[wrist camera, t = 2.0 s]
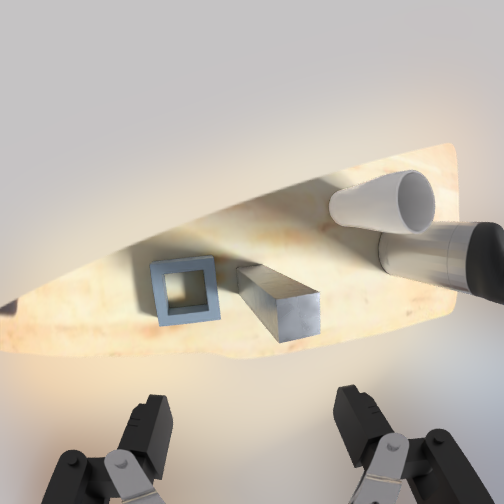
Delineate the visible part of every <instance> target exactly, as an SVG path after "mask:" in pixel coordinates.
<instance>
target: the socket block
mask: <svg viewBox="0 0 504 504" xmlns="http://www.w3.org/2000/svg"><path fill="white" fill-rule="evenodd" d="M196 270H203V272H204V281H205V289H206V297H207V304H204V305H196V306H187V307H178V308H169V304H168V297H167V291H166V284H165V276H164V274H169V273H178V272H187V271H196ZM150 271H151V279H152V285H153V292H154V298H155V304H156V310H157V316H158V321H159V326H170V325H179V324H188V323H197V322H205V321H212V320H220V319H221V316H220V308H219V300H218V291H217V282H216V273H215V263H214V257H213V256H212V255H207V256H198V257H189V258H180V259H171V260H162V261H153V262H152V263H151V264H150Z"/></svg>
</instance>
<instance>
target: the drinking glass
mask: <svg viewBox="0 0 504 504" xmlns="http://www.w3.org/2000/svg"><path fill="white" fill-rule="evenodd" d="M329 212H330V215H331V217H332V219H333V220H334V221H335V222H336V223H337V224H339V225H341V226H346V227H357V228H363V229H369V230H374V231H380V232H385V233H392V234H421V233H423V232H425V231H426V230H427V229H428V228H429V227H430V225H431V223H432V221H433V218H434V214H435V198H434V194H433V190H432V187H431V185H430V183H429V182H428V180H427V179H426V177H425V176H424V175H423V174H421V173H420V172H418V171H416V170H407V171H399V172H394V173H389V174H386V175H382V176H379V177H376V178H374V179H371V180H368V181H366V182H363V183H360V184H358V185H355V186H352V187H349V188H347V189H342V190H339V191H337V192H335V193H334V194H333V196H332V197H331V199H330V202H329Z"/></svg>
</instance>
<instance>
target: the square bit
mask: <svg viewBox="0 0 504 504" xmlns="http://www.w3.org/2000/svg"><path fill="white" fill-rule="evenodd" d="M237 279H238V289H239V295H240V296H241V297H242V299H243V300H244V301H245V302H246V304H247V305H248V306H249V307H250V309H251V310H252V311H253V312H254V314H255V315H256V316H257V317H258V318H259V320H260V321H261V322H262V323H263V325H264V326H265V327H266V328H267V329H268V331H269V332H270V333H271V334H272V335H273V337H274V338H275V339H276V340H277V341H278V343H282V342H287V341H292V340H296V339H301V338H305V337H310V336H314V335H318V334H320V292H318V291H316V290H314V289H312V288H310V287H308V286H306V285H304V284H301V283H299V282H297V281H295V280H293V279H291V278H289V277H287V276H285V275H283V274H281V273H279V272H277V271H275V270H273V269H270V268H268V267H266V266H264V265H257V266H248V267H240V268H237Z"/></svg>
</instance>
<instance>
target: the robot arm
mask: <svg viewBox="0 0 504 504" xmlns="http://www.w3.org/2000/svg"><path fill="white" fill-rule="evenodd" d="M379 259H380V263H381V265H382V267H383V268H384V270H385V271H386V272H387V273H389V274H391V275H393V276H398V277H402V278H406V279H409V280H414V281H418V282H422V283H426V284H430V285H434V286H438V287H442V288H446V289H450V290H454V291H458V292H463V293H467V294H471V295H474V296H478V297H482V298H485V299H487V300H489V301H492V302H495V303H499V304H503V305H504V230H503V228H502V227H501V226H500V225H498V224H496V223H490V222H449V221H432V223H431V225H430V227H429V228H428V229H427V230H426V231H425V232H423V233H421V234H392V233H385V232H383V233H382V235H381V238H380V242H379ZM333 415H334V420H335V422H336V425H337V427H338V429H339V432H340V434H341V437H342V439H343V441H344V444H345V446H346V448H347V451H348V453H349V456H350V458H351V460H352V463H353V465H354V467H355V468H357V467H361V466H363V468H364V472H363V474H362V477H361V479H360V481H359V483H358V485H357V487H356V489H355V491H354V493H353V496H352V498H351V499H350V501H349V503H348V504H395V503H396V500H397V497H398V494H399V492H400V488H401V485H402V482H401V481H400V479H407V481H408V484H409V486H410V488H411V491H412V493H413V495H414V497H415V499H416V502H417V504H495V503H494V501H493V500H492V498H491V496H490V494H489V493H488V491H487V489H486V488H485V486H484V485H483V483H482V481H481V480H480V478H479V477H478V475H477V473H476V472H475V470H474V469H473V467H472V466H471V464H470V462H469V461H468V459H467V458H466V456H465V455H464V453H463V452H462V450H461V449H460V448H459V446H458V444H457V443H456V442H455V440H454V439H453V437H452V436H451V434H450V433H449V432H448V431H446V430H444V429H434V430H431V431H430V432H429V433H428V434H427V435H426V437H425V438H417V439H407V438H406V437H405V436H404V435H402V434H399V433H395V432H394V431H393V430H392V428H391V426H390V425H389V423H388V421H387V420H386V418H385V417H384V415H383V414H382V412H381V410H380V409H379V407H378V406H377V404H376V402H375V401H374V399H373V398H372V397H371V396H369V395H368V394H367V393H365V392H364V393H359V391H358V389H357V388H356V386H355V385H348V386H343V387H339V388H338V390H337V395H336V399H335V404H334V408H333ZM172 429H173V418H172V414H171V411H170V407H169V404H168V401H167V397H166V396H165V395H151V394H150V395H149V397H148V399H147V402H146V404H139V405H138V406H137V407H136V408H134V409H133V411H132V413H131V416H130V419H129V421H128V423H127V426H126V428H125V431H124V433H123V436H122V438H121V441H120V443H119V446H118V448H117V450H114V451H112V452H110V453H109V454H107V456H106V457H102V458H86V456H85V455H84V454H83V453H82V452H80V451H77V450H68V451H66V452H64V453H63V454H62V455H61V456H60V458H59V461H58V463H57V465H56V468H55V470H54V473H53V475H52V477H51V480H50V482H49V485H48V487H47V490H46V492H45V495H44V498H43V500H42V503H41V504H109V501H110V498H119V497H120V498H121V499H122V504H165V502H164V501H163V500H162V498H161V497H160V496H159V494H158V493H157V491H156V490H155V488H154V487H153V481H154V479H159V480H162V475H163V471H164V466H165V461H166V456H167V452H168V447H169V442H170V437H171V433H172Z"/></svg>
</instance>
